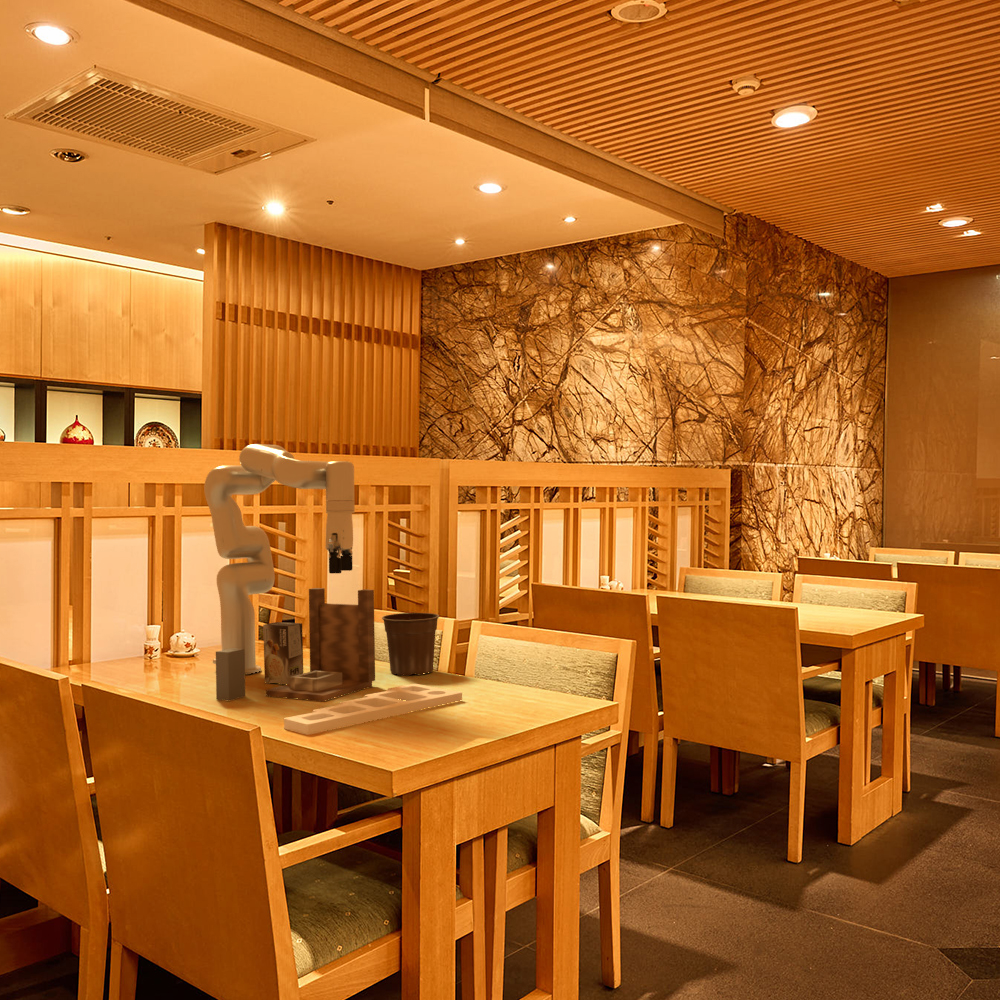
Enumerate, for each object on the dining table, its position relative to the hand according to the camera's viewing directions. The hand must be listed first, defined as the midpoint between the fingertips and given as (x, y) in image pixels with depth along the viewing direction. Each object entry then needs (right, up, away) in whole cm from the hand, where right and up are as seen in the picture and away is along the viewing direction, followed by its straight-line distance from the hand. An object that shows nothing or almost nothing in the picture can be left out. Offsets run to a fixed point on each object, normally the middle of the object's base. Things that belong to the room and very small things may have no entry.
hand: (340, 571), depth 260 cm
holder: (+11, -31, -33) cm, 46 cm away
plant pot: (+17, -30, +19) cm, 40 cm away
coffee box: (-17, -31, +6) cm, 35 cm away
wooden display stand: (-4, -30, -7) cm, 31 cm away
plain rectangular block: (-25, -31, -14) cm, 42 cm away
